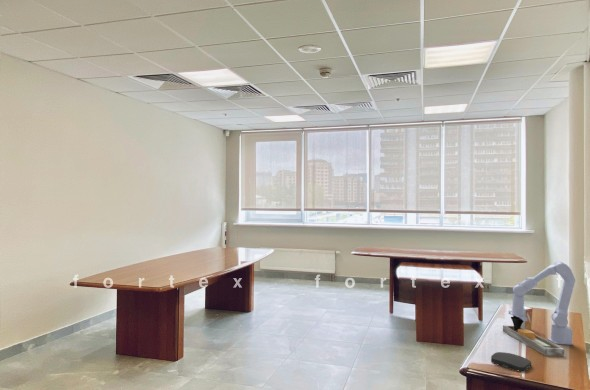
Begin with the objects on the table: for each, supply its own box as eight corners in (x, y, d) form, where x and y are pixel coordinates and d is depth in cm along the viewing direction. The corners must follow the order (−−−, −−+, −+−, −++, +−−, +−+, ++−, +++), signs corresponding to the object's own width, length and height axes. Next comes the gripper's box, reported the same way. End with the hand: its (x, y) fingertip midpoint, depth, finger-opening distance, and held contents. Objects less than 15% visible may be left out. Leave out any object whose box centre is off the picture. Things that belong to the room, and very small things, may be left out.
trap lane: (519, 332, 232) (519, 326, 232) (563, 356, 196) (564, 349, 197) (502, 331, 232) (503, 325, 232) (544, 355, 196) (545, 348, 196)
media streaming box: (500, 355, 193) (500, 349, 193) (533, 365, 182) (533, 359, 182) (488, 362, 183) (488, 356, 183) (522, 374, 172) (523, 367, 172)
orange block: (528, 334, 221) (528, 329, 221) (535, 338, 215) (535, 333, 215) (517, 334, 221) (517, 329, 221) (524, 338, 215) (524, 332, 215)
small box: (524, 331, 235) (526, 309, 235) (514, 328, 240) (515, 306, 240) (531, 329, 239) (532, 308, 240) (521, 326, 245) (522, 305, 245)
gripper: (504, 302, 234) (502, 325, 234) (519, 309, 219) (518, 334, 219) (515, 303, 234) (514, 326, 234) (531, 310, 220) (530, 334, 220)
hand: (516, 330), depth 227 cm, fingers closed
